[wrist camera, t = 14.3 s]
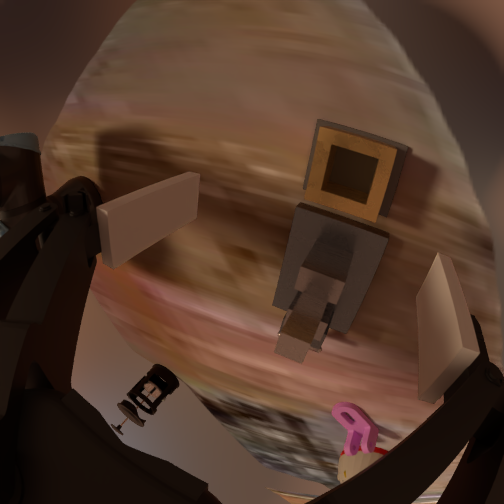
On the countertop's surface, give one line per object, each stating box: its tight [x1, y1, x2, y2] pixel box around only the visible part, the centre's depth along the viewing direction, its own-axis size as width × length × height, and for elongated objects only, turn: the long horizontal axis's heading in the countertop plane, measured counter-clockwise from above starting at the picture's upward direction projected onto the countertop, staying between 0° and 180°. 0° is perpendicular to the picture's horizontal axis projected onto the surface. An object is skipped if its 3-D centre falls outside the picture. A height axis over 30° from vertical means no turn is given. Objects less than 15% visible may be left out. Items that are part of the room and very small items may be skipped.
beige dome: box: [337, 446, 388, 484], centre depth 49 cm, size 14×14×15 cm
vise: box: [272, 202, 389, 364], centre depth 33 cm, size 12×19×16 cm, turn 171°
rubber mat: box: [303, 119, 408, 217], centre depth 31 cm, size 11×9×1 cm
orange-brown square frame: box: [304, 126, 397, 223], centre depth 29 cm, size 8×8×5 cm
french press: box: [111, 364, 179, 435], centre depth 65 cm, size 12×9×23 cm
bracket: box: [332, 402, 379, 456], centre depth 47 cm, size 13×6×7 cm, turn 45°
